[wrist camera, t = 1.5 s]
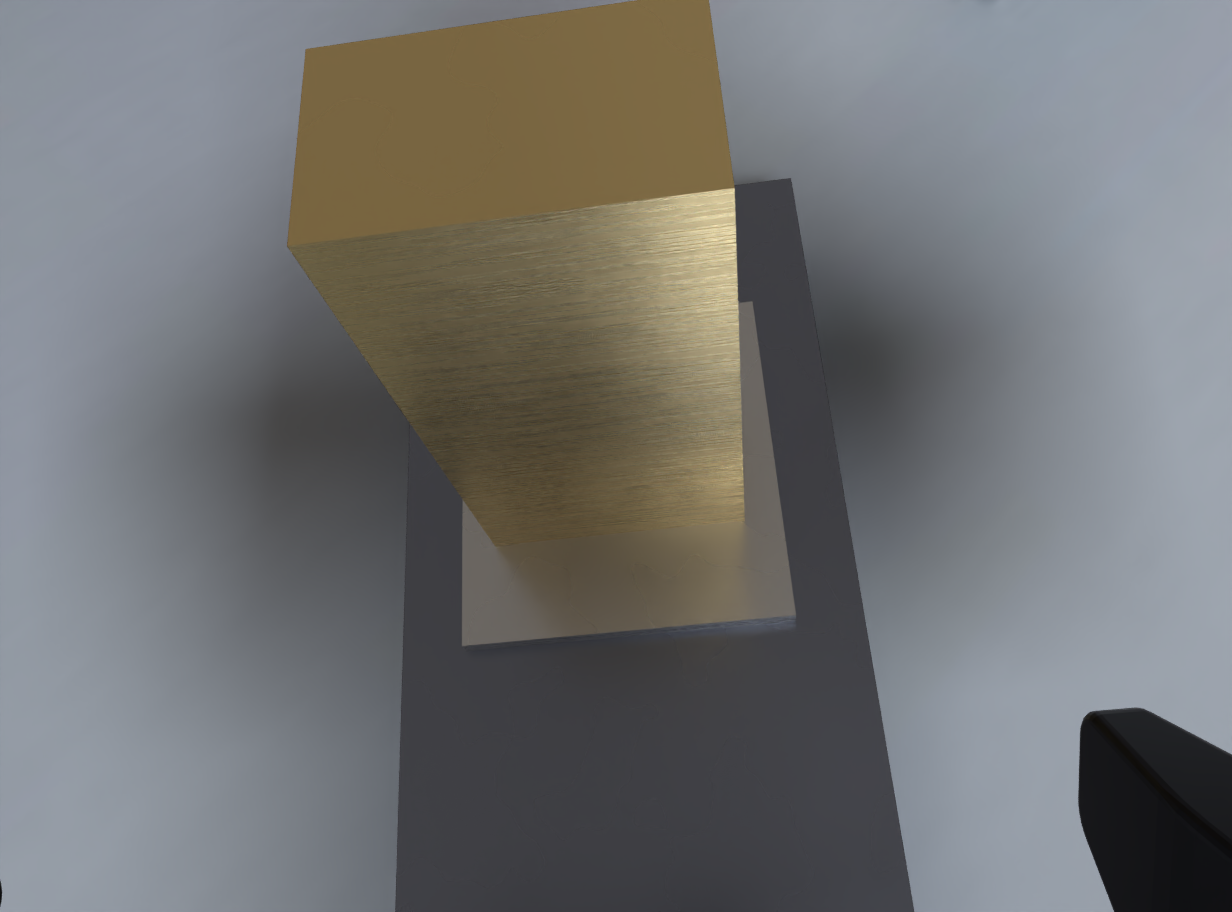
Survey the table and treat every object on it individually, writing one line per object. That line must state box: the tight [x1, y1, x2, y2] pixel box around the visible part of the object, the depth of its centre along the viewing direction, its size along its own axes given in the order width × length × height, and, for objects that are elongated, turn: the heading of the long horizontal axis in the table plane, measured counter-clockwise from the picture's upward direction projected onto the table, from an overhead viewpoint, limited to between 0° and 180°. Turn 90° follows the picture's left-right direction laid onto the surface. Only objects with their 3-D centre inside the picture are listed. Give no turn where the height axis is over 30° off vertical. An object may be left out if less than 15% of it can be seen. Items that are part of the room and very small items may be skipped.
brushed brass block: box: [287, 0, 745, 546], centre depth 16 cm, size 3×5×10 cm, turn 93°
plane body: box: [395, 178, 914, 912], centre depth 18 cm, size 27×9×6 cm, turn 3°
